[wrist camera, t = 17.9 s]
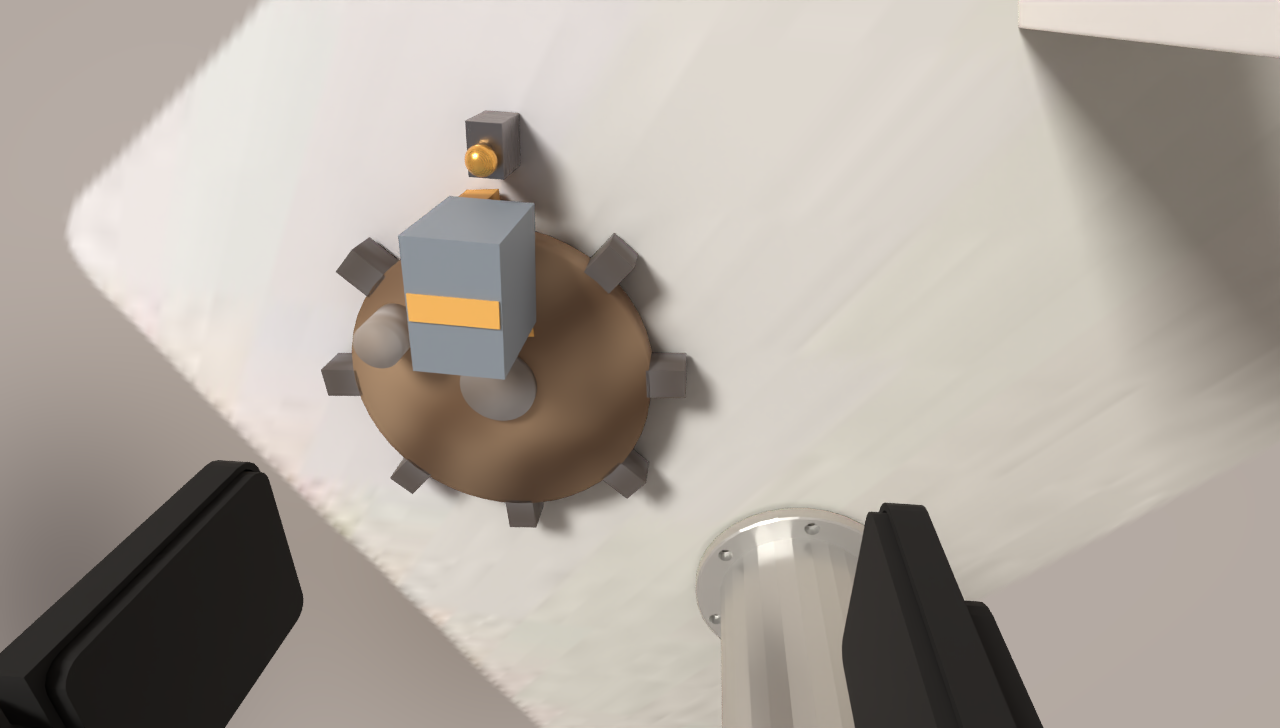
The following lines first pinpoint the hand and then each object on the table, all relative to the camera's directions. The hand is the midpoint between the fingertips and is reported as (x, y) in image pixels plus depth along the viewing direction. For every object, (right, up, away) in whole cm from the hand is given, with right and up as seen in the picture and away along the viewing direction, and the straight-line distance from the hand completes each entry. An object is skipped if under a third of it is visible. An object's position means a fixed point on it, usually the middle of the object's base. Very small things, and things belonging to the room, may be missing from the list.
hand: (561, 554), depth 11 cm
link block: (-6, +8, +23) cm, 25 cm away
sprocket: (-6, +3, +28) cm, 29 cm away
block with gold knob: (-5, +14, +22) cm, 27 cm away
